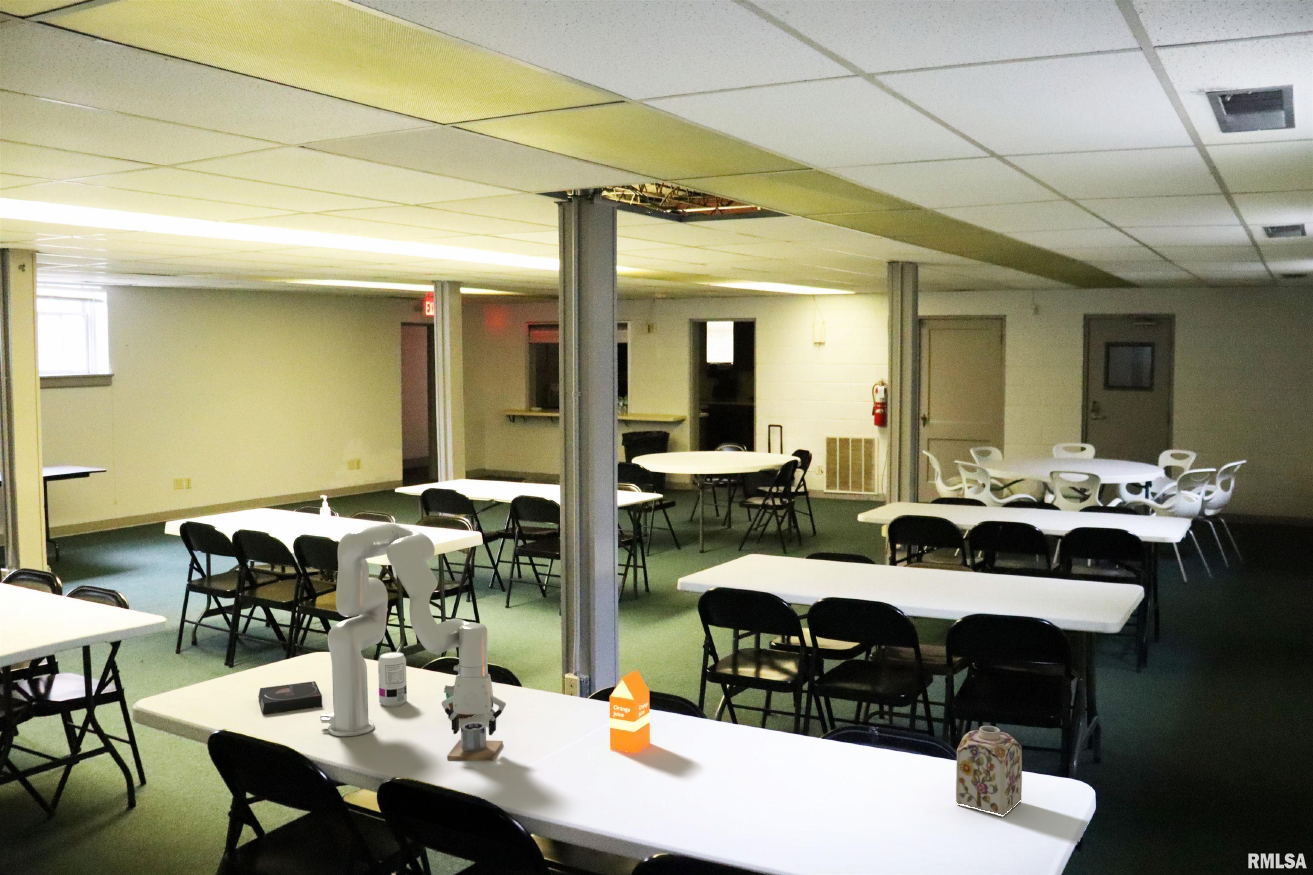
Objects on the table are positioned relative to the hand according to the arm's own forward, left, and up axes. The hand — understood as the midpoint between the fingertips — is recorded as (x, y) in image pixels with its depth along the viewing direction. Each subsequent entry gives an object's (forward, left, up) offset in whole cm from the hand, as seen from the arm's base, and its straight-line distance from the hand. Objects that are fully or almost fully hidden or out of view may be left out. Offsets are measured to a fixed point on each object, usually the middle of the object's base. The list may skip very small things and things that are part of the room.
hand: (473, 732), depth 284 cm
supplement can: (-36, +39, -5) cm, 53 cm away
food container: (-10, +29, -5) cm, 31 cm away
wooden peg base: (0, 0, -5) cm, 5 cm away
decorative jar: (+129, -25, -5) cm, 132 cm away
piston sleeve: (0, 0, -4) cm, 4 cm away
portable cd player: (-68, +37, -6) cm, 77 cm away
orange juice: (+41, +7, -5) cm, 42 cm away
